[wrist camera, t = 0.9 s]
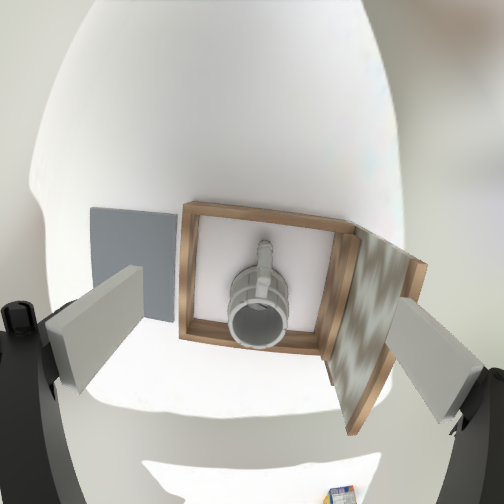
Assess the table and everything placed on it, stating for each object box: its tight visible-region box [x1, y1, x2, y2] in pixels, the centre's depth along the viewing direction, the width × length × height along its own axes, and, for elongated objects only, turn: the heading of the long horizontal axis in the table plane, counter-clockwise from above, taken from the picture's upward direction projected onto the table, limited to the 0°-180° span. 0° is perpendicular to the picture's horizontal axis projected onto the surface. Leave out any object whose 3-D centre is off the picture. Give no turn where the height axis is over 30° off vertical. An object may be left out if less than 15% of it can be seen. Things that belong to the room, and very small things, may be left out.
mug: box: [228, 241, 289, 349], centre depth 32 cm, size 8×12×12 cm, turn 174°
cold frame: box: [179, 201, 428, 436], centre depth 28 cm, size 19×21×19 cm
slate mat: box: [90, 207, 177, 323], centre depth 38 cm, size 16×14×1 cm
